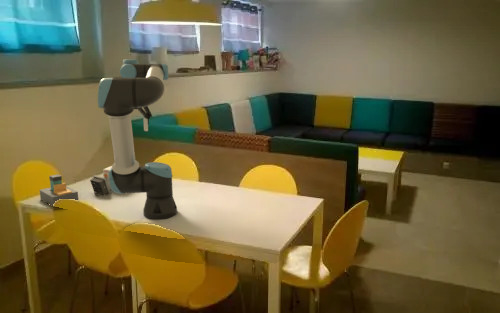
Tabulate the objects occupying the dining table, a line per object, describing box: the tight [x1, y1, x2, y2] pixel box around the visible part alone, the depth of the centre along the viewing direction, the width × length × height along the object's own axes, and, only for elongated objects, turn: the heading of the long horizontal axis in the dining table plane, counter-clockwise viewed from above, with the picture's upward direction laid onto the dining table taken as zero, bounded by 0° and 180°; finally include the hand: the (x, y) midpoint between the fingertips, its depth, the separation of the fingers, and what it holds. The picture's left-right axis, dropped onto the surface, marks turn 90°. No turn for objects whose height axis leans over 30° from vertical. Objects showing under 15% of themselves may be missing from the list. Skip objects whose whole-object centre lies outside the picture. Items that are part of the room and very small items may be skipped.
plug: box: [49, 173, 63, 192], centre depth 213 cm, size 4×4×12 cm
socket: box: [39, 185, 79, 207], centre depth 213 cm, size 16×12×5 cm
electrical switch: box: [89, 175, 111, 196], centre depth 224 cm, size 9×5×9 cm, turn 57°
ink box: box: [102, 165, 113, 192], centre depth 232 cm, size 9×8×12 cm
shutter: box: [53, 182, 72, 196], centre depth 209 cm, size 6×6×4 cm
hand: (134, 132), depth 221 cm, fingers open, 13 cm apart
